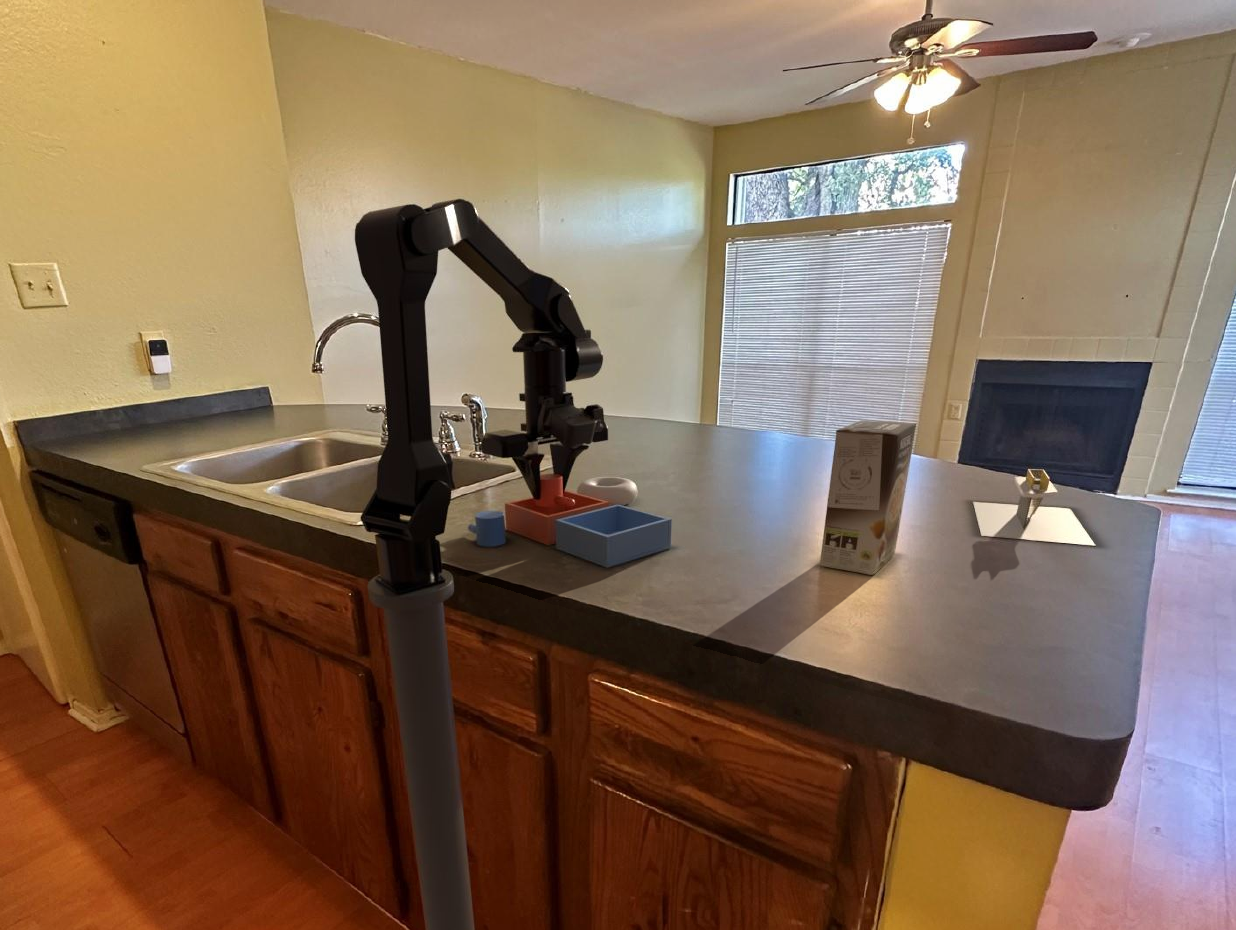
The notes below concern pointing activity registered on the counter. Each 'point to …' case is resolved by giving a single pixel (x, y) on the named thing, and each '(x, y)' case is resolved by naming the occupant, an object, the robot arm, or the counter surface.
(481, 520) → the blue handled mug
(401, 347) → the robot arm
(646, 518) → the blue bin
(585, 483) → the donut
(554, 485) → the red cylinder with peg
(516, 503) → the red bin
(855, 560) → the coffee box
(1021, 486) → the platform
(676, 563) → the counter surface
